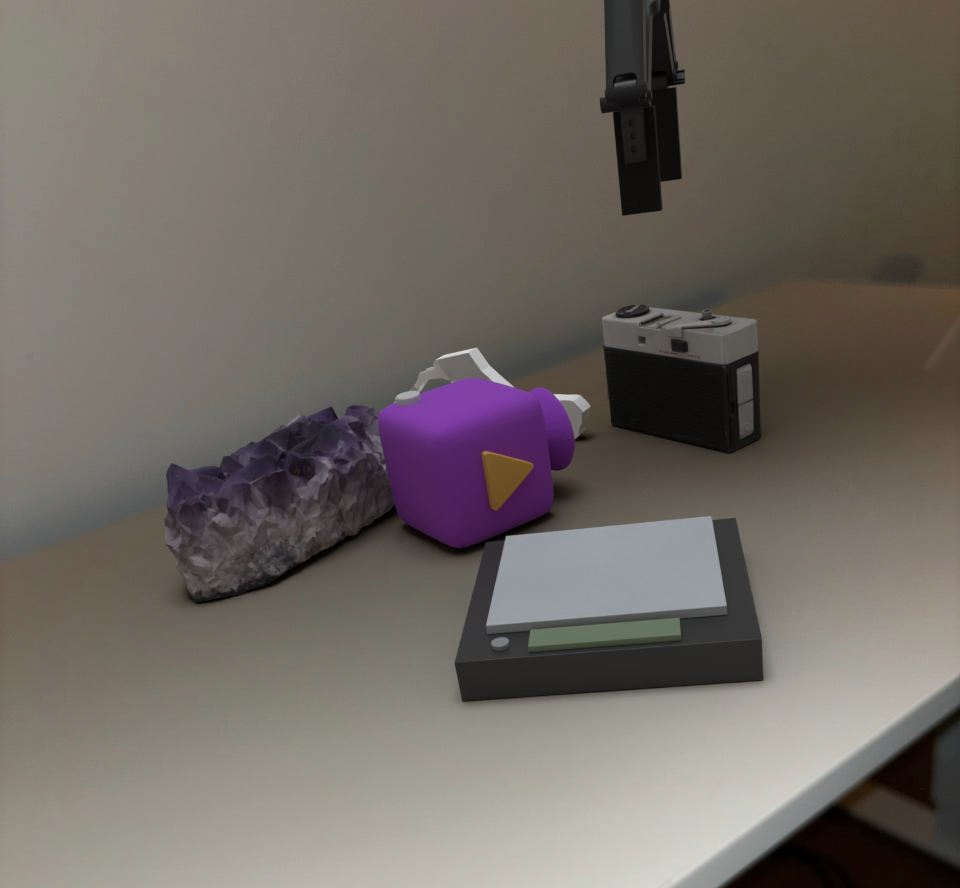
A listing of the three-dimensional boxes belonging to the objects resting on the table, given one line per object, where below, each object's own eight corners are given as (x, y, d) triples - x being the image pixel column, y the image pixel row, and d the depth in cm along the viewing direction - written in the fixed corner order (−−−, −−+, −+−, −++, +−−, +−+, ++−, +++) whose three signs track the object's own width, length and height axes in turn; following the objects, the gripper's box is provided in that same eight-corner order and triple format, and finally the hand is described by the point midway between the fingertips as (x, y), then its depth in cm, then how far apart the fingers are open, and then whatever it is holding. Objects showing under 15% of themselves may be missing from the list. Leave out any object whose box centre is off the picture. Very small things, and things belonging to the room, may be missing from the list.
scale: (737, 553, 68) (735, 508, 66) (763, 680, 55) (761, 628, 54) (491, 575, 71) (484, 533, 69) (462, 701, 58) (452, 652, 56)
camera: (801, 424, 85) (794, 298, 80) (712, 463, 82) (700, 335, 77) (689, 394, 96) (677, 282, 91) (607, 427, 93) (591, 313, 88)
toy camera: (606, 491, 80) (592, 360, 75) (478, 564, 72) (453, 424, 68) (505, 469, 87) (486, 349, 82) (379, 534, 80) (350, 406, 75)
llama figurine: (443, 495, 101) (592, 432, 89) (384, 387, 98) (530, 308, 86) (453, 487, 102) (601, 425, 90) (395, 381, 100) (540, 301, 88)
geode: (263, 619, 71) (202, 481, 66) (160, 613, 78) (99, 488, 74) (439, 488, 84) (398, 366, 80) (337, 493, 91) (294, 381, 87)
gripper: (601, -126, 80) (627, 176, 90) (529, -160, 60) (574, 235, 70) (702, -149, 78) (717, 163, 88) (664, -192, 57) (689, 221, 68)
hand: (654, 196), depth 79 cm, fingers open, 13 cm apart
